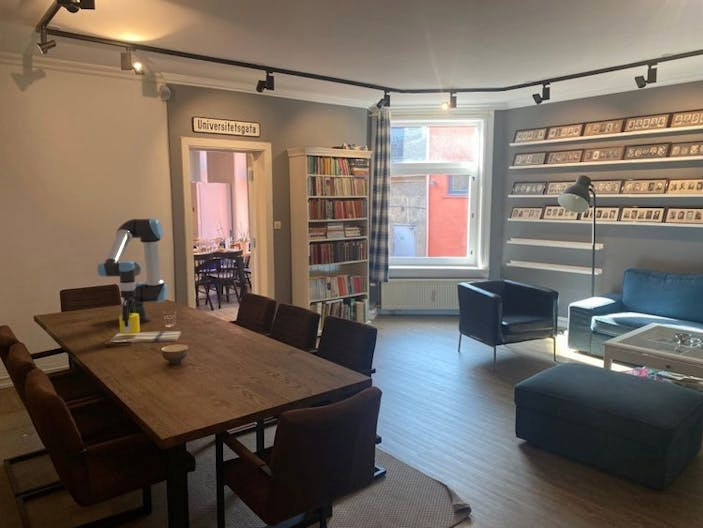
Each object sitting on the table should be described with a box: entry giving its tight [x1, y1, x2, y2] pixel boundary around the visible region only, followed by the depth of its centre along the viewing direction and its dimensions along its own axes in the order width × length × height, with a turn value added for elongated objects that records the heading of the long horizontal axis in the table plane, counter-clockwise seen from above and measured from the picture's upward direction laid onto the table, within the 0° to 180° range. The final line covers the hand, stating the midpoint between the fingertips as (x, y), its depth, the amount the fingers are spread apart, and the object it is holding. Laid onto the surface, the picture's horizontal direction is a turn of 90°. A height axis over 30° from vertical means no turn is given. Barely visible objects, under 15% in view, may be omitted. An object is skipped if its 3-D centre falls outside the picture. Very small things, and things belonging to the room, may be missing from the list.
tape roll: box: [118, 313, 141, 334], centre depth 287 cm, size 10×10×9 cm
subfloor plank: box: [109, 330, 182, 344], centre depth 289 cm, size 16×34×2 cm, turn 98°
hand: (129, 329), depth 288 cm, fingers closed on tape roll, 10 cm apart
